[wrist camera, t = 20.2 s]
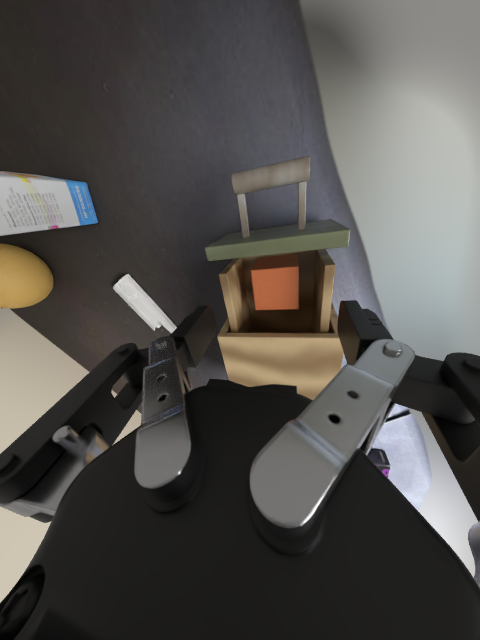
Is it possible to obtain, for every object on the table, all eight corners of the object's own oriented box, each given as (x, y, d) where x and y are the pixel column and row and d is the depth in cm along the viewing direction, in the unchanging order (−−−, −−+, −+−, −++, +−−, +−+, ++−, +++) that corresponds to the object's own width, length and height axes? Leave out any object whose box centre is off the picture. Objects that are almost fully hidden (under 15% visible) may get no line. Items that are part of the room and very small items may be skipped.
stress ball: (31, 227, 30) (-68, 239, 21) (79, 283, 34) (11, 310, 26) (6, 251, 34) (-85, 269, 25) (52, 299, 38) (-14, 327, 30)
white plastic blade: (172, 349, 38) (169, 352, 37) (113, 287, 32) (108, 290, 32) (189, 341, 35) (186, 344, 34) (129, 273, 30) (124, 275, 29)
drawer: (219, 183, 20) (187, 177, 14) (336, 158, 17) (363, 135, 11) (245, 331, 30) (232, 367, 24) (321, 331, 27) (331, 372, 21)
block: (298, 266, 18) (298, 309, 20) (297, 253, 21) (297, 291, 24) (250, 270, 19) (255, 310, 21) (257, 258, 22) (260, 293, 25)
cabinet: (237, 298, 28) (216, 336, 20) (328, 293, 25) (346, 338, 17) (250, 371, 36) (239, 419, 28) (320, 375, 33) (330, 431, 25)
